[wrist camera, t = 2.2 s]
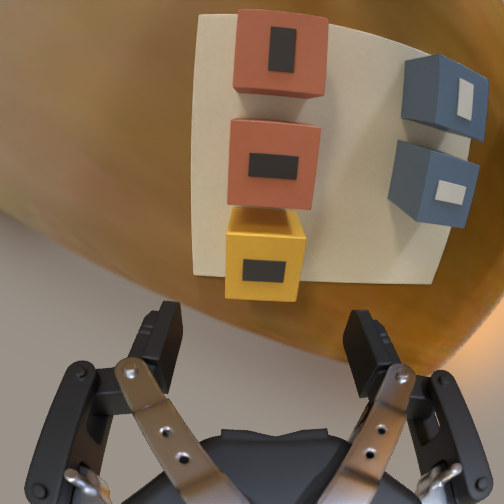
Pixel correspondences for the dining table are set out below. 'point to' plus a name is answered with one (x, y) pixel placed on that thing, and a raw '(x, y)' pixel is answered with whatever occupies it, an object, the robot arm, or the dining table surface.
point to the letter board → (321, 159)
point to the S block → (263, 254)
